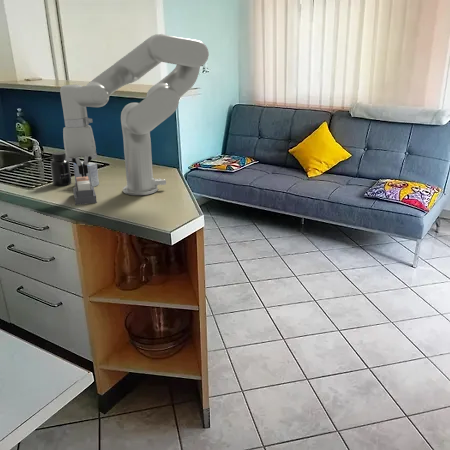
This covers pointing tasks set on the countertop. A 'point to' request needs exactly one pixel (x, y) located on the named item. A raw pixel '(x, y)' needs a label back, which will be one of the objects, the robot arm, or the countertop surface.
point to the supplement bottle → (60, 169)
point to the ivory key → (83, 185)
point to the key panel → (84, 195)
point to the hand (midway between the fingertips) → (84, 175)
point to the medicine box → (91, 173)
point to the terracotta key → (82, 178)
